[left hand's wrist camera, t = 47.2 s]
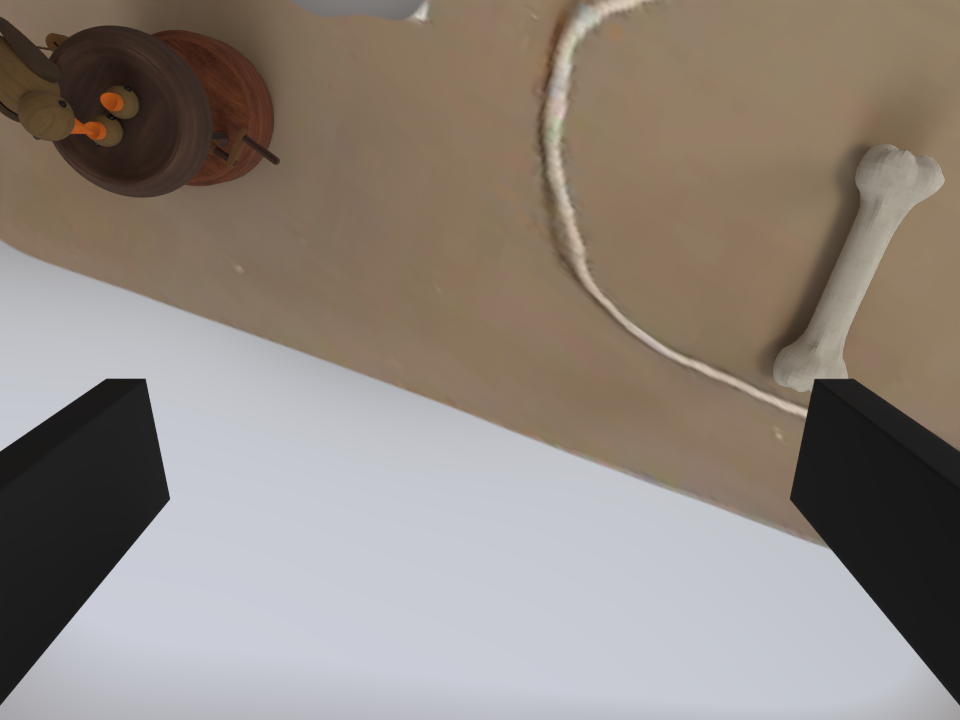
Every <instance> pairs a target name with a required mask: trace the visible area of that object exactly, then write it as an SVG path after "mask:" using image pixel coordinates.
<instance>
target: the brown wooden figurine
mask: <svg viewBox="0 0 960 720" xmlns="http://www.w3.org/2000/svg"><path fill="white" fill-rule="evenodd" d="M0 32H1V33H2V35H3V36H4V37H3V36H1V35H0V112H1V113H2V114H4V115H5V116H7V117H8V118H10V119H12V120H14V121H17V122H20V123H21V124H22V125H23V127H24V128H25V129H26V130H27V131H28V132H29V133H30V134H32V135H33V137H34V138H35V139H37V140H40V139H42V140H46V141H52V142H53V144H54V145H55V147H56V148H57V150H58V151H59V153H60V154H61V155H62V157H63V158H64V159H65V160H66V162H67V163H68V164H69V165H70V166H71V167H72V168H73V169H74V170H75V171H77V172H78V173H79V174H80V175H81V176H83V177H84V178H85V179H87V180H88V181H90V182H92V183H93V184H95V185H97V186H99V187H101V188H103V189H105V190H107V191H110V192H113V193H116V194H120V195H124V196H129V197H155V196H160V195H164V194H167V193H170V192H172V191H174V190H176V189H178V188H180V187H182V186H183V185H191V186H208V185H213V184H218V183H222V182H226V181H230V180H234V179H237V178H239V177H241V176H243V175H245V174H246V173H248V172H249V171H251V170H252V169H253V168H254V167H255V166H256V165H257V164H258V163H259V162H260V161H261V159H262V158H263V156H264V157H265V158H266V159H268V160H269V161H270V162H272V163H273V164H275V165H277V164H279V162H280V160H279V158H277V157H276V156H275V155H273V154H272V153H271V152H269V151H268V150H267V149H268V146H269V144H270V141H271V137H272V132H273V108H272V103H271V99H270V96H269V93H268V90H267V88H266V85H265V83H264V81H263V79H262V78H261V76H260V74H259V73H258V72H257V70H256V69H255V67H254V66H253V65H252V64H251V63H250V62H249V61H248V60H247V59H246V58H245V57H244V56H243V55H242V54H241V53H240V52H238V51H237V50H235V49H234V48H232V47H231V46H229V45H227V44H225V43H223V42H221V41H219V40H216V39H213V38H209V37H206V36H203V35H200V34H197V33H193V32H189V31H182V30H169V31H162V32H158V33H155V34H152V35H149V34H147V33H144V32H142V31H139V30H136V29H132V28H128V27H122V26H98V27H93V28H89V29H85V30H83V31H80V32H78V33H76V34H74V35H72V36H71V37H67V36H63V35H59V34H54V33H51V34H49V35H47V37H46V44H47V46H48V48H46V47H40V46H35V45H34V44H33V43H32V42H31V41H30V40H29V39H28V38H27V37H26V36H24V35H23V34H22V33H21V32H20V31H19V30H18V29H16V28H15V27H14V26H13V25H12V24H10V23H9V22H8V21H7V20H5V19H4V18H2V17H0ZM39 49H44V50H50V51H52V52H53V54H52V55H51V57H50V58H49V59H48V58H47V57H46V56H45V55H44V53H43V52H42V51H41V50H39Z"/></svg>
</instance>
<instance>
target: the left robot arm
mask: <svg viewBox="0 0 960 720" xmlns="http://www.w3.org/2000/svg"><path fill="white" fill-rule="evenodd" d="M169 500H170V496H169V491H168V486H167V482H166V476H165V472H164V467H163V462H162V457H161V452H160V447H159V442H158V437H157V432H156V428H155V423H154V418H153V413H152V408H151V403H150V398H149V393H148V389H147V383H146V379H105V380H104V381H102V382H101V383H100V384H98V385H97V386H95V387H94V388H92V389H91V390H89V391H88V392H86V393H85V394H84V395H82V396H81V397H79V398H78V399H76V400H75V401H73V402H72V403H70V404H69V405H67V406H66V407H65V408H63V409H62V410H60V411H59V412H57V413H56V414H54V415H53V416H51V417H50V418H48V419H47V420H46V421H44V422H43V423H41V424H40V425H38V426H37V427H35V428H34V429H33V430H31V431H30V432H28V433H27V434H25V435H24V436H22V437H21V438H19V439H18V440H16V441H15V442H13V443H12V444H11V445H9V446H8V447H6V448H5V449H3V450H2V451H0V705H1V704H2V703H3V701H4V700H5V699H6V698H7V697H8V695H9V694H10V693H11V692H12V691H13V689H14V688H15V687H16V686H17V684H18V683H19V682H20V681H21V680H22V678H23V677H24V676H25V675H26V674H27V672H28V671H29V670H30V669H31V667H32V666H33V665H34V664H35V663H36V661H37V660H38V659H39V658H40V656H41V655H42V654H43V653H44V652H45V650H46V649H47V648H48V647H49V646H50V644H51V643H52V642H53V641H54V640H55V638H56V637H57V636H58V635H59V633H60V632H61V631H62V630H63V629H64V627H65V626H66V625H67V624H68V622H69V621H70V620H71V619H72V618H73V616H74V615H75V614H76V613H77V612H78V610H79V609H80V608H81V607H82V605H83V604H84V603H85V602H86V601H87V599H88V598H89V597H90V596H91V595H92V593H93V592H94V591H95V590H96V588H97V587H98V586H99V585H100V584H101V582H102V581H103V580H104V579H105V578H106V576H107V575H108V574H109V573H110V572H111V570H112V569H113V568H114V567H115V565H116V564H117V563H118V562H119V561H120V559H121V558H122V557H123V556H124V555H125V553H126V552H127V551H128V550H129V548H130V547H131V546H132V545H133V544H134V542H135V541H136V540H137V539H138V538H139V536H140V535H141V534H142V533H143V531H144V530H145V529H146V528H147V527H148V525H149V524H150V523H151V522H152V521H153V519H154V518H155V517H156V516H157V514H158V513H159V512H160V511H161V510H162V508H163V507H164V506H165V505H166V504H167V502H168V501H169ZM790 500H791V501H792V502H793V504H794V505H795V506H796V507H797V508H798V510H799V511H800V512H801V513H802V514H803V516H804V517H805V518H806V519H807V521H808V522H809V523H810V524H811V525H812V527H813V528H814V529H815V530H816V531H817V533H818V534H819V535H820V536H821V538H822V539H823V540H824V541H825V542H826V544H827V545H828V546H829V547H830V548H831V550H832V551H833V552H834V553H835V554H836V556H837V557H838V558H839V559H840V561H841V562H842V563H843V564H844V565H845V567H846V568H847V569H848V570H849V572H850V573H851V574H852V575H853V576H854V578H855V579H856V580H857V581H858V582H859V584H860V585H861V586H862V587H863V589H864V590H865V591H866V592H867V593H868V594H869V596H870V597H871V598H872V599H873V601H874V602H875V603H876V604H877V605H878V607H879V608H880V609H881V610H882V612H883V613H884V614H885V615H886V616H887V618H888V619H889V620H890V621H891V623H892V624H893V625H894V626H895V627H896V629H897V630H898V631H899V632H900V633H901V635H902V636H903V637H904V638H905V639H906V641H907V642H908V643H909V644H910V646H911V647H912V648H913V649H914V650H915V652H916V653H917V654H918V655H919V656H920V658H921V659H922V660H923V661H924V663H925V664H926V665H927V666H928V667H929V669H930V670H931V671H932V672H933V674H934V675H935V676H936V677H937V678H938V680H939V681H940V682H941V683H942V684H943V686H944V687H945V688H946V689H947V691H948V692H949V693H950V694H951V695H952V697H953V698H954V699H955V700H956V701H957V703H958V704H959V705H960V451H958V450H957V449H955V448H954V447H952V446H951V445H949V444H948V443H947V442H945V441H944V440H942V439H941V438H939V437H938V436H936V435H935V434H933V433H932V432H930V431H929V430H928V429H926V428H925V427H923V426H922V425H920V424H919V423H917V422H916V421H914V420H913V419H912V418H910V417H909V416H907V415H906V414H904V413H903V412H901V411H900V410H898V409H897V408H895V407H894V406H893V405H891V404H890V403H888V402H887V401H885V400H884V399H882V398H881V397H879V396H878V395H877V394H875V393H874V392H872V391H871V390H869V389H868V388H866V387H865V386H863V385H862V384H860V383H859V382H858V381H856V380H855V379H814V383H813V388H812V393H811V398H810V403H809V408H808V413H807V418H806V423H805V428H804V432H803V437H802V442H801V447H800V452H799V457H798V462H797V467H796V472H795V476H794V481H793V486H792V491H791V496H790Z"/></svg>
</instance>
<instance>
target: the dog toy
mask: <svg viewBox="0 0 960 720" xmlns="http://www.w3.org/2000/svg"><path fill="white" fill-rule="evenodd" d="M944 181H945V179H944V176H943V174H942V171H941V168H940V167H939V165H938V164H937V162H936V161H935V160H933V159H932V158H931V157H929V156H925V155H922V156H919V157H915V156H913V155H912V154H911V153H910V152H909V151H907V150H899V149H898V148H896V147H895V146H893V145H890V144H878V145H875V146H873V147H871V148H870V149H869V150H868V151H867V152H866V154H865V155H864V156H863V158H862V160H861V161H860V163H859V165H858V168H857V170H856V173H855V183H856V185H857V187H858V189H859V192H860V207H859V210H858V213H857V216H856V218H855V221H854V223H853V225H852V228H851V230H850V232H849V235H848V237H847V239H846V242H845V244H844V246H843V248H842V251H841V253H840V255H839V258H838V260H837V262H836V264H835V267H834V269H833V271H832V274H831V276H830V278H829V280H828V283H827V285H826V287H825V289H824V292H823V294H822V296H821V299H820V301H819V303H818V305H817V308H816V310H815V312H814V314H813V317H812V319H811V321H810V323H809V325H808V327H807V329H806V331H805V332H804V333H803V335H802V336H800V337H799V338H798V339H797V340H796V341H795V342H794V343H792V344H790V345H788V346H786V347H784V348H783V349H782V350H781V351H780V352H779V353H778V355H777V357H776V359H775V362H774V366H773V377H774V379H775V381H776V382H777V383H778V384H779V385H781V386H784V387H791V388H793V389H795V390H796V391H798V392H803V391H807V390H810V392H812V388H813V383H814V379H848V374H847V370H846V366H845V363H844V361H843V358H842V353H843V347H844V343H845V339H846V336H847V333H848V330H849V328H850V325H851V323H852V320H853V318H854V316H855V314H856V312H857V310H858V307H859V305H860V303H861V301H862V299H863V297H864V294H865V292H866V290H867V288H868V286H869V284H870V282H871V279H872V277H873V275H874V273H875V271H876V269H877V266H878V264H879V262H880V260H881V258H882V256H883V254H884V251H885V249H886V247H887V245H888V243H889V241H890V239H891V237H892V236H893V234H894V232H895V230H896V229H897V227H898V225H899V224H900V223H901V221H902V220H903V218H904V217H905V216H906V214H907V213H908V212H909V211H910V209H911V208H912V207H913V206H914V205H915V204H917V203H918V202H920V201H922V200H924V199H926V198H927V197H929V196H931V195H932V194H934V193H935V192H937V191H938V189H939V188H940V187H942V185H943V183H944Z"/></svg>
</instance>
